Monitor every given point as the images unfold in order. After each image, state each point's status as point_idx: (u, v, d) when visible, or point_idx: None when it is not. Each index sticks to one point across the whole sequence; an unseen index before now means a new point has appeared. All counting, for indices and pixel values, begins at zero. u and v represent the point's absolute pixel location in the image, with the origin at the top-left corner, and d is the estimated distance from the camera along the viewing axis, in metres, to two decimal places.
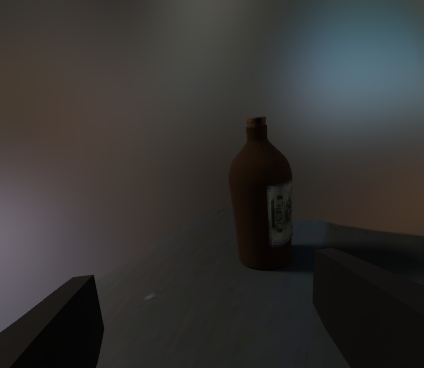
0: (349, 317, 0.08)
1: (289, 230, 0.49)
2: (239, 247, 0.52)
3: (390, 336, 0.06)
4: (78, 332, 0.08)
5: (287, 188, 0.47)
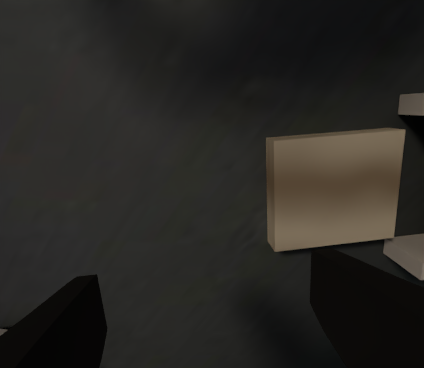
0: (345, 317, 0.08)
1: None
2: None
3: (386, 337, 0.06)
4: (82, 331, 0.08)
5: None
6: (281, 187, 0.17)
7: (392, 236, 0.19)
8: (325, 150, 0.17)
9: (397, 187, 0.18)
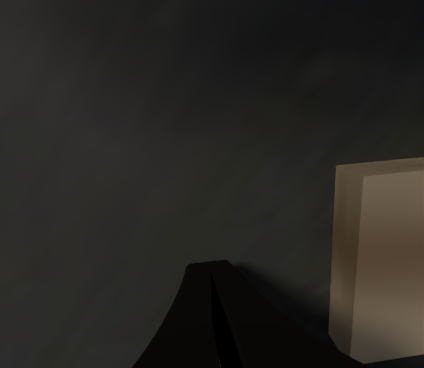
0: (220, 334, 0.08)
1: None
2: None
3: (233, 359, 0.06)
4: None
5: None
6: (369, 259, 0.09)
7: None
8: None
9: None
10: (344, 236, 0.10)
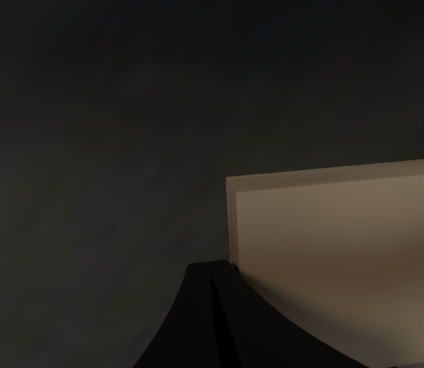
0: (220, 334, 0.08)
1: None
2: None
3: (232, 359, 0.06)
4: (213, 314, 0.08)
5: None
6: (253, 279, 0.09)
7: None
8: (341, 209, 0.09)
9: None
10: (234, 253, 0.09)
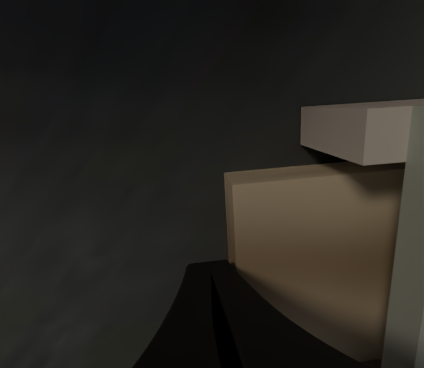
0: (220, 334, 0.08)
1: None
2: None
3: (233, 359, 0.06)
4: (213, 314, 0.08)
5: None
6: (249, 271, 0.09)
7: None
8: (335, 201, 0.09)
9: None
10: (231, 246, 0.10)
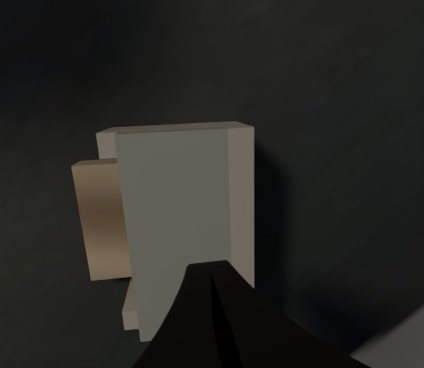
0: (221, 334, 0.08)
1: None
2: None
3: (233, 359, 0.06)
4: (213, 314, 0.08)
5: None
6: (87, 214, 0.17)
7: None
8: None
9: None
10: None
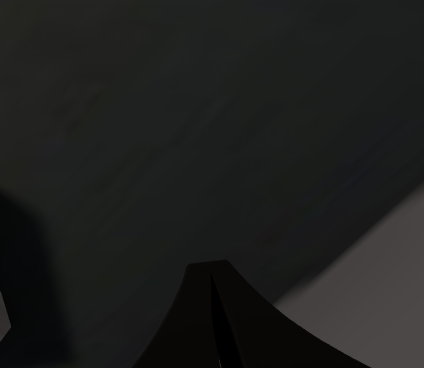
0: (220, 334, 0.08)
1: None
2: None
3: (233, 359, 0.06)
4: None
5: None
6: None
7: None
8: None
9: None
10: None
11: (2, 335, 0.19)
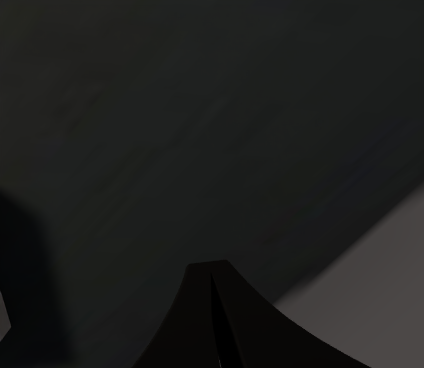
0: (220, 334, 0.08)
1: None
2: None
3: (233, 359, 0.06)
4: None
5: None
6: None
7: None
8: None
9: None
10: None
11: (2, 335, 0.19)
